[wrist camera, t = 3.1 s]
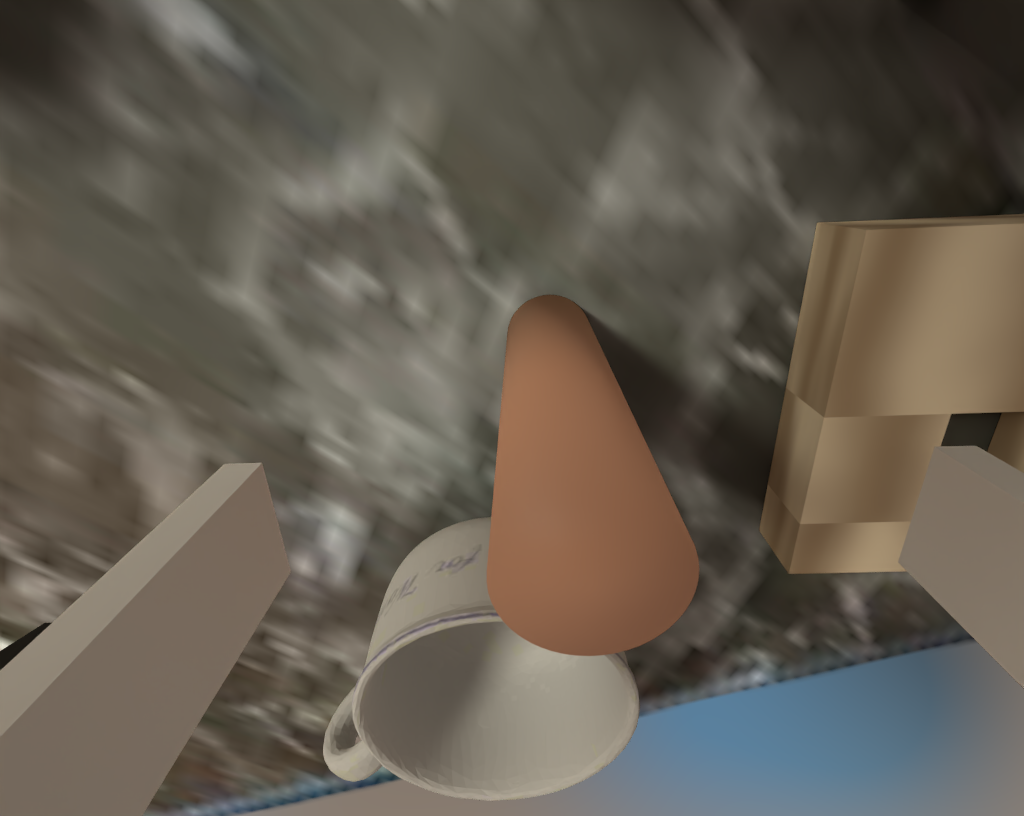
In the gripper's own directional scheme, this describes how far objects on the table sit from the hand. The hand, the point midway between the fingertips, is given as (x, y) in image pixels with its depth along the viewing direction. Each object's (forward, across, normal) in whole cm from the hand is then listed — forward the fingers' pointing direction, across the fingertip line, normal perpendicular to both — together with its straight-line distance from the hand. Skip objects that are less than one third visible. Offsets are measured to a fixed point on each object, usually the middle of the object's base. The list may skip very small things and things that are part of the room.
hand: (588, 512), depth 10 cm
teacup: (+12, -4, -12) cm, 18 cm away
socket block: (+12, +17, -2) cm, 21 cm away
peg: (+12, 0, 0) cm, 12 cm away
